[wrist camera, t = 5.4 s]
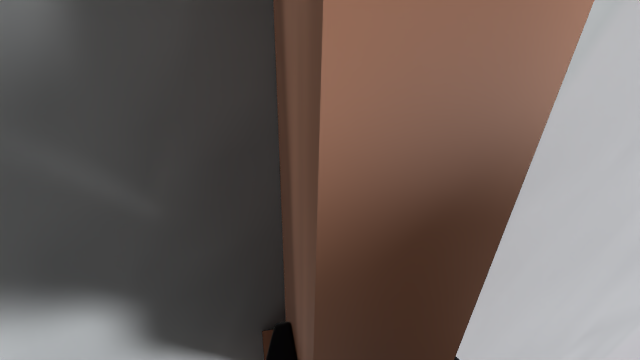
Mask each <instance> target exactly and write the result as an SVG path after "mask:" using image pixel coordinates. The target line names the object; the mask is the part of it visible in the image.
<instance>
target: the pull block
mask: <svg viewBox="0 0 640 360" xmlns="http://www.w3.org/2000/svg"><path fill="white" fill-rule="evenodd" d="M593 2H594V0H273V4H274V30H275V56H276V82H277V108H278V134H279V160H280V186H281V211H282V237H283V263H284V289H285V315H286V322H287V321H288V322H290V323H291V327H292V332H293V337H294V343H295V348H296V354H297V359H298V360H454V359H455V356H456V353H457V351H458V348H459V346H460V343H461V341H462V338H463V335H464V333H465V330H466V328H467V325H468V323H469V320H470V317H471V315H472V312H473V310H474V307H475V305H476V302H477V300H478V297H479V294H480V292H481V289H482V287H483V284H484V282H485V279H486V276H487V274H488V271H489V269H490V266H491V264H492V261H493V259H494V256H495V253H496V251H497V248H498V246H499V243H500V241H501V238H502V235H503V233H504V230H505V228H506V225H507V223H508V220H509V218H510V215H511V212H512V210H513V207H514V205H515V202H516V200H517V197H518V194H519V192H520V189H521V187H522V184H523V182H524V179H525V177H526V174H527V171H528V169H529V166H530V164H531V161H532V159H533V156H534V153H535V151H536V148H537V146H538V143H539V141H540V138H541V135H542V133H543V130H544V128H545V125H546V123H547V120H548V118H549V115H550V112H551V110H552V107H553V105H554V102H555V100H556V97H557V94H558V92H559V89H560V87H561V84H562V82H563V79H564V77H565V74H566V71H567V69H568V66H569V64H570V61H571V59H572V56H573V53H574V51H575V48H576V46H577V43H578V41H579V38H580V36H581V33H582V30H583V28H584V25H585V23H586V20H587V18H588V15H589V12H590V10H591V7H592V5H593ZM272 333H273V330H267V331H262V336H263V349H264V360H266V356H267V353H268V349H269V345H270V341H271V337H272Z"/></svg>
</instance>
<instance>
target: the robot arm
mask: <svg viewBox="0 0 640 360" xmlns="http://www.w3.org/2000/svg"><path fill="white" fill-rule="evenodd" d="M266 360H298V359H297V354H296V348H295V343H294V337H293V332H292V327H291V323H290V322H288V321H287V322H281V323H277V324H275V326H274V329H273V333H272V337H271V341H270V345H269V349H268V353H267V356H266ZM454 360H459V359H458V358H457V357H456V356H455V359H454Z"/></svg>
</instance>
